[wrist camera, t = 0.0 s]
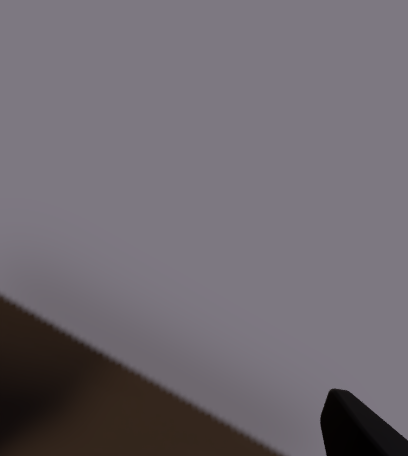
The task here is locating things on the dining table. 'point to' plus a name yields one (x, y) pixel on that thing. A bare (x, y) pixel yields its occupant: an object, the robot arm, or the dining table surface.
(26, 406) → the dining table surface
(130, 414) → the dining table surface
